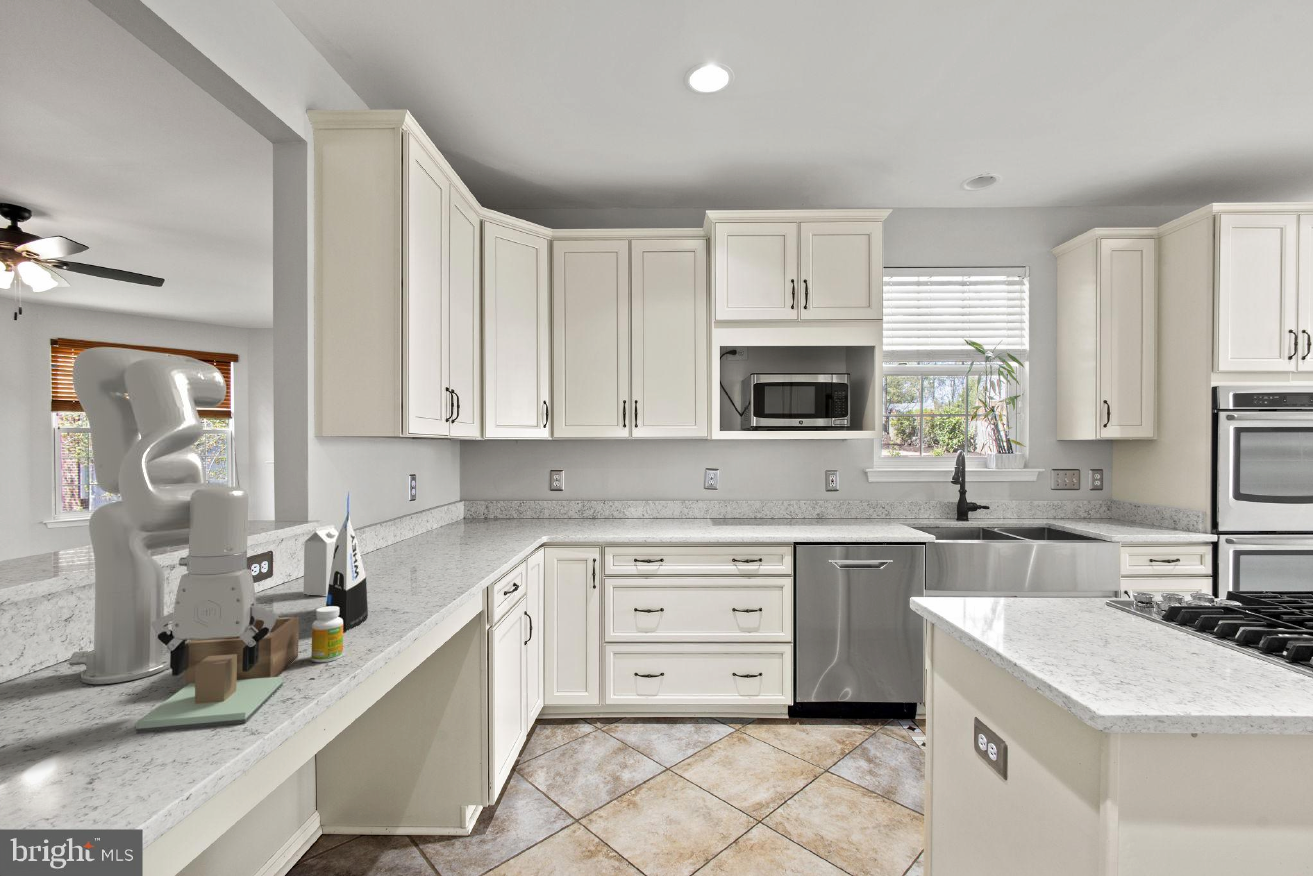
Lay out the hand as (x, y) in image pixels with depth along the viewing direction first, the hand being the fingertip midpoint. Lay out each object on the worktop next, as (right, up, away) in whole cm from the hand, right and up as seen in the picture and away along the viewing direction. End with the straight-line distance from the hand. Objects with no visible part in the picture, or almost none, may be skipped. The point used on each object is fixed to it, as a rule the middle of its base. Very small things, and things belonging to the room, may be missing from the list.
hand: (215, 670), depth 93 cm
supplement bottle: (+6, -6, +22) cm, 23 cm away
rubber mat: (0, -6, 0) cm, 6 cm away
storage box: (-5, -6, +14) cm, 16 cm away
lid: (0, -5, 0) cm, 5 cm away
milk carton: (-23, -7, +71) cm, 75 cm away
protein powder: (-5, -7, +48) cm, 49 cm away
